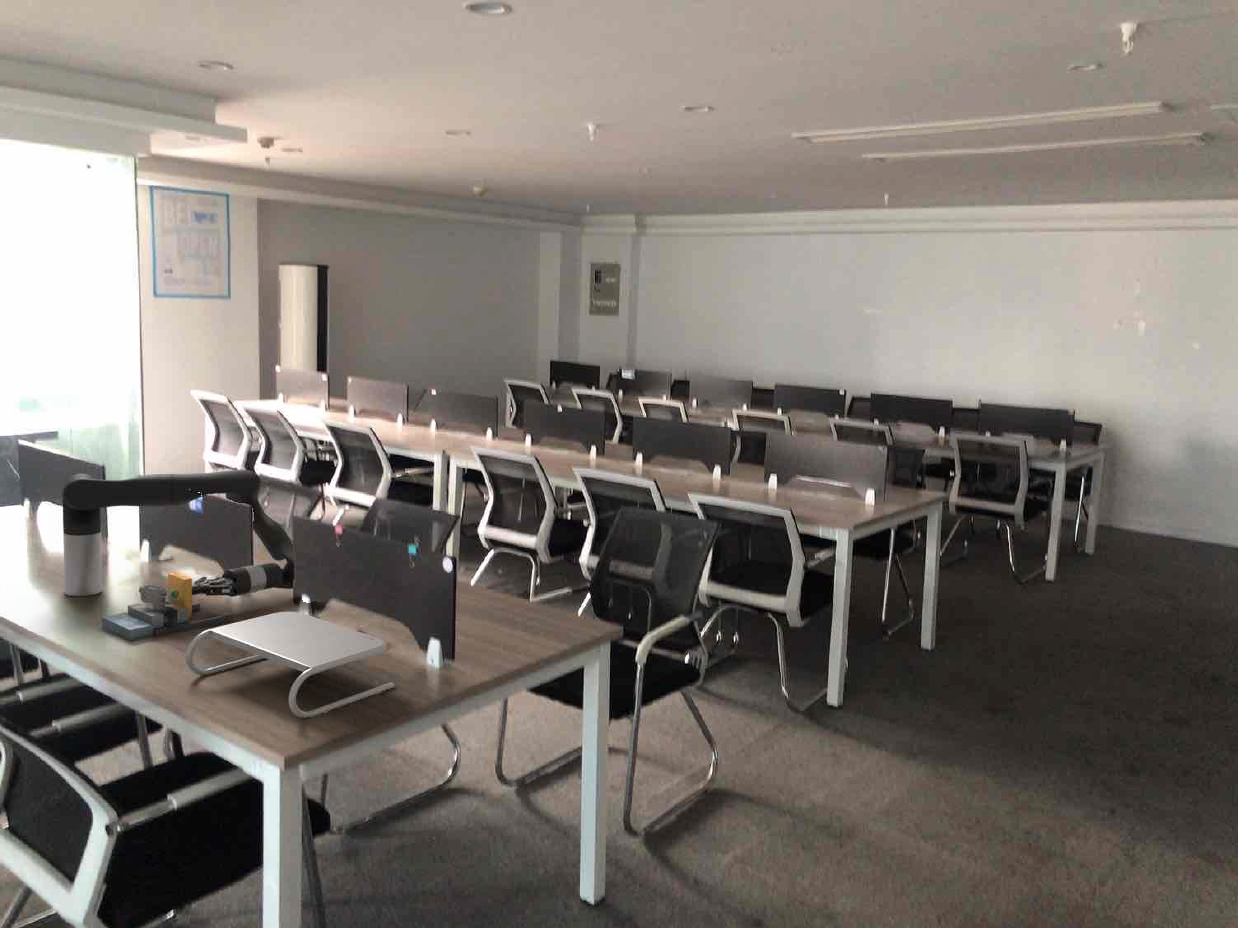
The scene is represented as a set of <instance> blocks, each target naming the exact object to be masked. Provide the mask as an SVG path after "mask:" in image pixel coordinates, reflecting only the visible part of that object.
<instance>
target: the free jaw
mask: <svg viewBox="0 0 1238 928" xmlns="http://www.w3.org/2000/svg"><path fill="white" fill-rule="evenodd" d="M192 583H193V578H192V577H191V576H187V575H184V574H181V573H178V572H176V571H175V572H170V573H169V572H168V574H167V594H169V592H170V591H171V590H176V591H178V592H179V595H178V597H177V601H176V602H174V603H172V604H169V605H164V607H165V608H164V609H163V610H162V613H163V614H164V625H167V626H168V627H171V626H176V625H180V624H185V623H190V622H193V610H192V604H193V595H192V585H193V584H192ZM165 600H168V601H169V599H167V598H165ZM153 608H154V604H153V603H152V609H153ZM153 610H154V609H153Z"/></svg>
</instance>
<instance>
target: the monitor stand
mask: <svg viewBox="0 0 1238 928" xmlns="http://www.w3.org/2000/svg"><path fill="white" fill-rule="evenodd" d="M206 637H207V638H208V637H211V638H212V639H215V640H218V641H220V642H223V643H225V644H227V645H230V646H233V647H236V648H238V649H241V650H244V651H246V652H249V653H251V654H254V655H252V656H248V657H246V658H245V657H244V658H242V659H239V660H235V661H231V662H227V663H224V664H220V665H218V666H214V667H209V668H206V669H202V668H199V667H198V666H197V665H196V664H195V662H194V658H193V656H194V651H195V649H196V648H197V645H198V644H199V643H200V642H201V641H202V640H204V639H205V638H206ZM387 647H388V645H387V641H385V640H383V639H381V638H379V637H376V636H373V635H370V634H367V633H364V632H360V631H358V630H355V629H352V628H349V627H346V626H342V625H340V624H336V623H334V622H330V621H327V620H323V619H322V618H318V617H315V616H311V615H310V614H306V613H303V612H299V611H279V612H273V613H269V614H265V615H262V616H258V617H253V618H249V619H245V620H241V621H238V622H233V623H228V624H225V625H221V626H217V627H213V628H208V629H207V630H203V631H202V632H201V633H199V634H197V635H196V636H195V637H194V638H193V639H192V640H191V642H190V643H189V645H188V647H187V649H186V653H185V663H186V666H187V667H188V669H189V670H190V671H191V672H192V673H193V674H196V675H198V676H209V675H213V673H214V674H216V672H217V673H220V672H219V671H222V672H225V671H227V670H226V669H228V670H230V669H229V668H231V669H233V668H232V667H235V666H238V667H241V666H240V665H242V666H244V665H243V664H245V665H248V664H251V663H250V662H252V663H254V662H253V661H255V662H259V661H262V660H265V659H268V660H270V661H272V662H275V663H278V664H281V665H283V666H286V667H289V668H290V669H291V668H292V669H294V670H296V671H299V672H302V673H301V674H299V676H298V677H297V678H296V679H295V680H294V682H293V684H292V686H291V688H290V690H289V693H288V694H289V695H288V705H289V708H290V710H291V712H292V713H293V714H294V715H296V716H297V717H298V718H302V719H308V718H307V717H311V718H314V717H316V715H317V716H320V715H322V714H321V713H324V714H328V713H329V712H331V711H333V710H332V709H334V708H337V709H339V708H342V707H344V706H343V705H345V706H347V705H346V704H348V703H350V704H353V703H356V702H358V701H357V700H359V701H361V700H360V699H362V700H364V699H367V698H369V697H368V696H370V697H372V696H371V695H373V696H375V695H374V694H377V695H379V693H380V694H381V693H383V691H384V692H386V691H385V690H387V689H389V690H392V689H394V688H395V687H396V685H395V683H394V682H393V681H391V682H388V683H385V684H382V685H380V686H376V687H374V688H371V689H368V690H366V691H362V692H360V693H356V694H354V695H351V696H348V697H345V698H342V699H340V700H337V701H335V702H332V703H328V704H325V705H323V706H320V707H317V708H314V709H312V710H308V711H304V710H302V709H300V707H299V706H298V704H297V694H298V691H299V689H300V687H301V685H302V684H303V683H304V682H305V680H306V679H308V678H310V676H312V675H313V676H314V675H316V674H319V673H322V672H325V671H328V670H332V669H335V668H339V667H342V666H344V665H348V664H351V663H354V662H357V661H361V660H363V659H367V658H370V657H373V656H376V655H378V654H381V653H383V652H385V651H386V649H387ZM258 660H259V661H258ZM247 663H248V664H247ZM235 668H236V667H235ZM224 670H225V671H224ZM393 687H394V688H393ZM391 688H392V689H391ZM387 691H388V690H387ZM366 697H367V698H366ZM363 698H364V699H363ZM355 701H356V702H355ZM352 702H353V703H352ZM348 705H349V704H348ZM341 706H342V707H341ZM330 710H331V711H330ZM334 710H335V709H334ZM328 711H329V712H328ZM319 714H320V715H319ZM313 716H314V717H313Z"/></svg>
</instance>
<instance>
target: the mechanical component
mask: <svg viewBox="0 0 1238 928" xmlns="http://www.w3.org/2000/svg"><path fill="white" fill-rule="evenodd" d="M138 592H139V593H140V599H141V601H142V602H143V603H147V604H152V605H153V604H154V608H153V607H152V609H154V610H156V611H158V612H160V613H162V610H163V609H164V608H165V607H164V605H169V604H172V603H174V602H176V601H177V597H178V595H179V592H178V591H176V590H171V591H170V592H169V594H168V590H166V586H159V585H158V586H157V585H150V584H146V585H143V586H139V589H138ZM165 598H166V599H169V601H168V600H165Z"/></svg>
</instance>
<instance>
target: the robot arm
mask: <svg viewBox="0 0 1238 928" xmlns="http://www.w3.org/2000/svg"><path fill="white" fill-rule="evenodd" d="M261 482H262V481H261V478H260V476H259V475H258V474H257V473H256V472H254V471H253V470H248V469H231V470H223V471H215V472H213V471H212V472H201V473H199V472H197V473H195V472H194V473H158V474H157V473H156V474H155V473H154V474H145V475H140V476H136V477H131V478H126V479H114V480H113V479H97V478H95V477H93V476H92V475H90V474H87V473H76V474H73V475H70V476H69V477H68V478H67V479H66V480H65V482H64V483H63V485H62V490H61V491H62V492H61V493H62V496H61V497H62V498H61V499H62V528H63V529H62V531H63V533H62V534H63V570H64V581H63V583H64V594H65V596H70V597H85V596H86V597H87V596H93V595H97V594H99V593H101V592H102V591H103V579H102V578H103V571H102V569H103V564H102V563H103V561H102V518H101V516H102V515H101V509H104V508H112V507H176V506H181V505H184V504H187V503H190V502H192V501H195V500H198V499H200V498H202V497H205V496H211V495H216V494H217V495H219V494H222V495H223V494H225V499H226V498H227V499H229V500H232V501H234V502H238V503H246V504H249V505H251V506H252V508H253V512H254V521H253V529H252V530H253V532H254V533H255V535H256V536H257V537H258V538H259V540H260V541H261V543H262V544H263V546H264V547H265V550H267V552H268V553H269V555H270V556H271V557H272V559H273V560H275V561H279V562H280V561H284V560H285V561H286V563H285V565H284V566H283V567H281V566H280V565H279V564H277V563H276V562H275V563H274V562H271V563H268V562H267V563H263V564H257V565H247V566H241V567H235V568H230V569H226V570H225V571H224V572H223V574H222V576H214V577H211V578H207V576H202V577H200V578H199V579H197V580H196V581H194V584H192V596H195V595H196V596H197V595H201V596H202V595H205V597H206V596H228V597H231V598H235V597H240V596H245V595H250V594H253V593H254V594H255V593H257V592H259V591H263V590H264V591H265V590H268V589H282V590H284V589H286V590H293V580H294V562H293V544H292V542H293V541H292V539H291V538H290V536H289V535H288V533H287V532H286V531H285V529H284V528H283V526H282V525H280V524H279V522H277V521H275V520H274V519H273V518H271V517H270V516H269V515H267V514H266V512H265V511H264V510H263V508H262V506H261V504H260V502H259V498H258V497H259V493H260V489H261V484H262V483H261ZM189 489H190V490H189ZM198 492H200V493H198ZM201 493H202V494H201ZM207 494H209V495H207ZM201 495H202V496H201Z"/></svg>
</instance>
